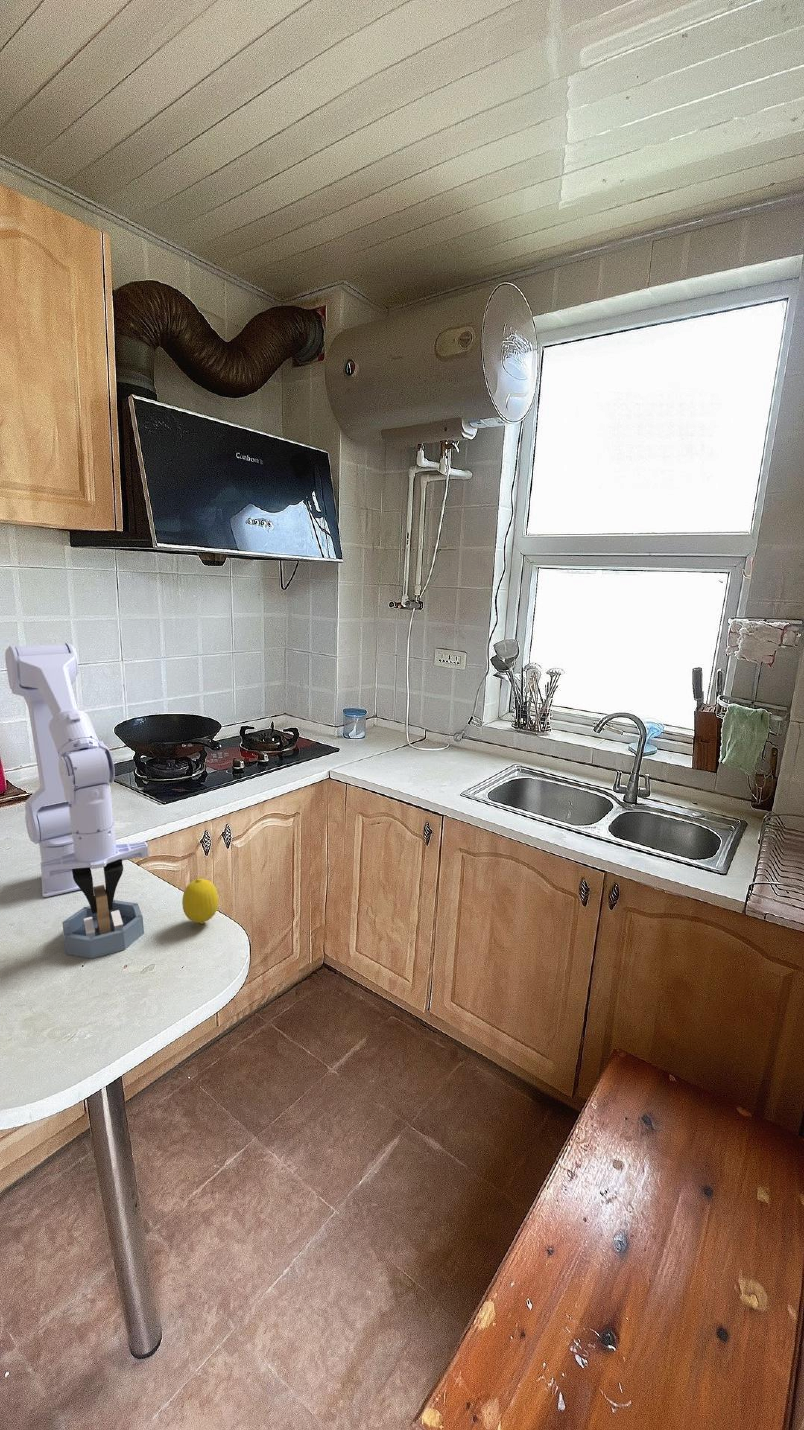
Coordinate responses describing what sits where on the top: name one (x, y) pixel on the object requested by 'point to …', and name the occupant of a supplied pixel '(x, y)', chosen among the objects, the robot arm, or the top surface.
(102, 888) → the brown wooden plank
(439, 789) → the top surface
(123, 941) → the octagonal blue tray
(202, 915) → the lemon
